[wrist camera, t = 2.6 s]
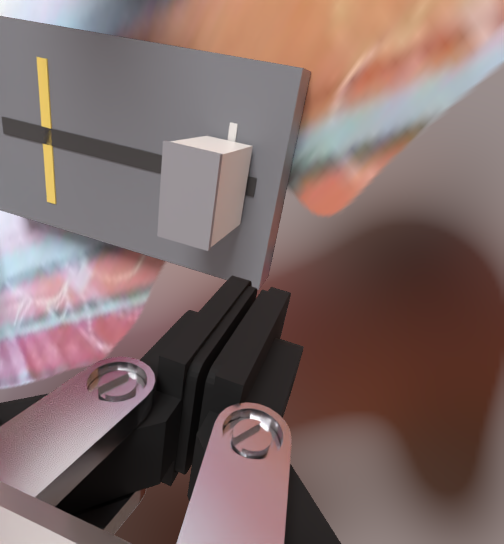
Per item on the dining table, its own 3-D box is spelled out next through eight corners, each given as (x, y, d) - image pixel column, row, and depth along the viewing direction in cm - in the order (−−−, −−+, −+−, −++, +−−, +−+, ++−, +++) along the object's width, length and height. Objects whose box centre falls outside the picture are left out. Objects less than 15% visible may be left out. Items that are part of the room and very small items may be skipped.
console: (311, 71, 23) (302, 67, 21) (268, 276, 29) (258, 290, 27) (5, 18, 28) (-29, 10, 26) (24, 203, 34) (-2, 210, 32)
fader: (253, 145, 23) (220, 154, 18) (240, 225, 25) (208, 251, 21) (206, 134, 24) (162, 141, 19) (197, 213, 26) (157, 236, 21)
